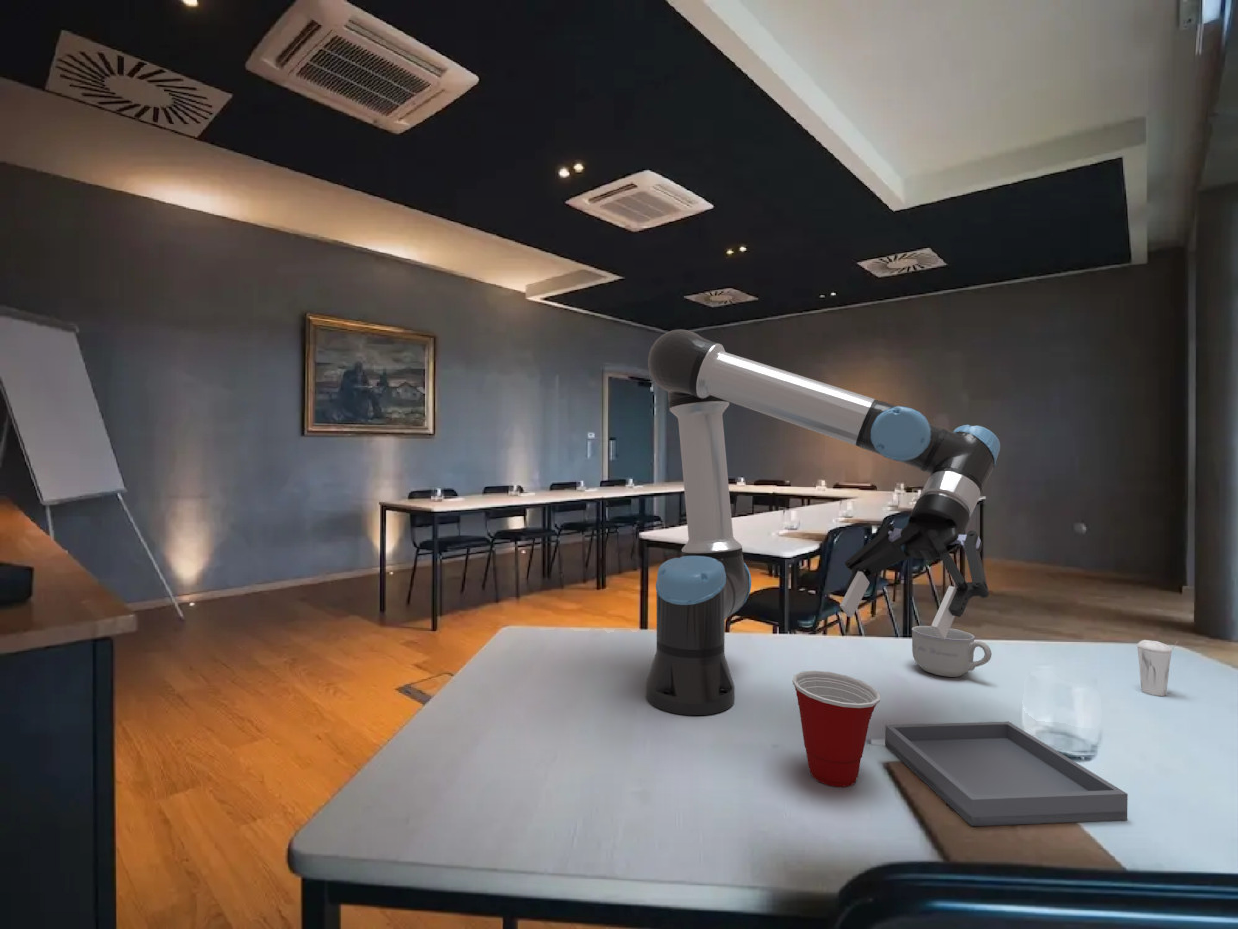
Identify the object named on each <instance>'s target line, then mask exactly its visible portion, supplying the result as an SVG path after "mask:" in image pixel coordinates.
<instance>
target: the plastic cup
mask: <svg viewBox="0 0 1238 929" xmlns="http://www.w3.org/2000/svg"><path fill="white" fill-rule="evenodd" d="M791 681H792V685H793V686H794V688H795V689H794V690H795V692H796V693H795V694H796V697H797V705H798V709H799V716H800V723H801V731H802V737H803V744H804V748H805V753H806V758H807V766H808V769H809V774H810V775H811V776H812V778H813V779H815V780H816V781H817V782H819V783H822V784H824V785H827V786H831V787H836V788H837V787H838V788H846V787H850V786H853V785H854V784H855V783H856V782H857V778H858V777H859V771H860V765H861V760H862V758H863V754H864V749H865V744H866V739H867V736H868V735H867V734H868V730H869V724H870V721H871V720H872V714H873V713H874V712H875V711H874V710H875V708H876V706H877V705H878V704H879V703H880V701H881V693H880V692H879V691H878V690H877V689H876V688H875V687H874V686H872V685H870V684H868V683H867V682H864V681H862V680H861V679H857V678H854V677H851V676H848V675H845V674H840V673H835V672H830V671H822V670H808V671H807V670H806V671H800V672H798V673H795V674H794V675H793V677H792V680H791Z"/></svg>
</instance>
